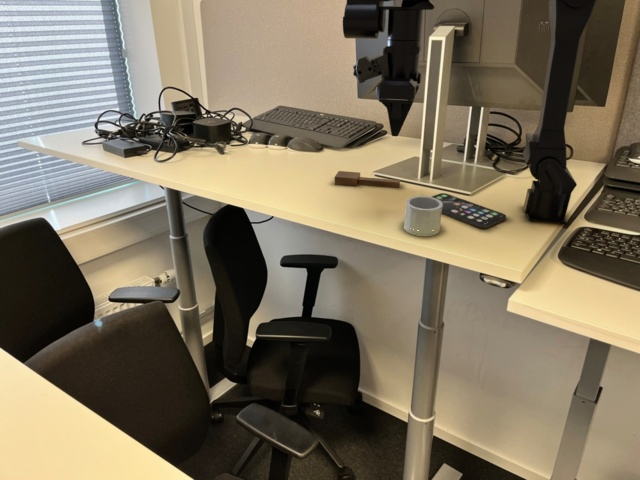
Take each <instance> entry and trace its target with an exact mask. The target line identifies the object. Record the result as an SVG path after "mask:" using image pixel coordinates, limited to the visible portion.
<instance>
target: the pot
mask: <svg viewBox="0 0 640 480" xmlns="http://www.w3.org/2000/svg"><path fill="white" fill-rule="evenodd" d="M442 207H443V203H442V202H441V201H440V200H438V199H436V198H433V197H432V196H426V195H417V196H412V197H411V196H410V197H409V198H407V199H406V201H405V210H404V211H405V212H404V223H403V224H404V225H403V228H404V231H406V232H407V233H408V234H411V235H413V236H417V237H433V236H435V235H438V234H439V233H440V231H441V230H440V229H441V222H442V215H443V213H442ZM410 228H411V229H410ZM413 229H414V230H413ZM417 230H419V231H417ZM432 230H434V231H432Z"/></svg>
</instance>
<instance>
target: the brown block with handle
mask: <svg viewBox="0 0 640 480" xmlns="http://www.w3.org/2000/svg"><path fill="white" fill-rule="evenodd" d="M334 185H337V186H349V187H358V185H361V186H371V187H372V186H373V187H384V188H385V187H386V188H397V189H399V188H400V185H401V180H400V179H391V178H378V177H366V176H361V172H358V171H345V170H338V172H336V174H335V176H334Z"/></svg>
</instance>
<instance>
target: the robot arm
mask: <svg viewBox="0 0 640 480" xmlns="http://www.w3.org/2000/svg"><path fill="white" fill-rule="evenodd" d="M393 1H395V0H346V4H345V7H344V14H343V16H342V33H343V37H344V39H358V40H359V39H361V40H362V39H363V40H365V39H367V40H368V39H369V40H372V39H373V40H377V39H378V38H379V35H380V33H385V30H386V23H387V36H386V45H384V46H385V47H383V48H382V49H383V50H382V54H379V55H375V56H374V57H371V58H369V56H368V55H365V56H364V57H361V58H357V61H356V63H355V64H354V65H353V66H352V69H353V73H352V74H353V76H354V77H355V78H356V82H357V84H358V85H359V84H363V83H365V82H366V81H368V80H371V79H374V78H377V77H381V79H382V80H381V81H380V82H379V83H378V84H377V85H376V92H375V93H376V95H375V98H376V99H377V100H378V102H379V103H381V104H382V105H383V106H384V107H385V108H386V112H387V117H388V122H389V128H390V133H391V135H390V136H391V137H398V136H399V134H400V132H401V130H402V128H403V125H404V123H405V122H406V119H407V118H408V115H409V112H410V111H411V109H412V106H413V104H414V102H415V99H416V95H417V93H418V91H419V88H420V85H421V82H422V70H421V69H420V68H419V65H420V63H419V62H420V53H421V48H422V44H421V42H422V41H421V40H422V30H423V19H424V18H423V17H424V11H433V10H434V9H435V8H436V4H435V3H434V2H433V1H432V0H402V1H401V5H384V2H393ZM596 2H597V0H548V15H549V16H548V18H549V27H550V37H551V38H550V46H549V47H550V48H549V54H548V58H547V59H548V61H547V66H546V67H547V68H546V73H545V79H544V85H543V86H544V87H543V91H542V92H543V93H542V99H541V105H540V112H539V119H538V123H537V127H536V128H535V130H534V132H533V133H530V132H526V133H525V146H524V149H523V151H522V153H521V154H522V156H523V160H524V162H525V165H526V166H528V170H529V172H530V174H531V176H532V177H533V178H534V179H535V180H531V181H532V182H531V185H530V187H529V188H527V189H526V195H525V199H524V204H523V211H524V214H525V215H526V217H527V219H528V221H530V222H536V223H537V222H538V223H547V224H559V225H567V224H568V220H567V218H566V216H567V211H568V208H569V204H570V201H571V197H572V192H574V190H575V188H576V187H577V181H576V180H575V178H574V177H573V175H572V173H571V171H570V170H569V168H568V167H567V166H568V165H567V142H566V132H565V126H566V121H567V115H568V110H569V104H570V98H571V92H572V87H573V82H574V81H573V80H574V75H575V69H576V64H577V59H578V53H579V48H580V42H581V39H582V36H583V34H584V32H585V30H586V27H587V25H588V23H589V22H590V20H591V17H592V14H593V11H594V9H595V6H596ZM387 11H388V15H387ZM387 17H388V18H387ZM386 20H387V21H386Z"/></svg>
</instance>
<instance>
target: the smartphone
mask: <svg viewBox="0 0 640 480" xmlns="http://www.w3.org/2000/svg"><path fill="white" fill-rule="evenodd" d="M431 197H433V198H436V199H438V200H440V201H441V202H442V203H443V207H442V214H445V215H447V216H450V217H452V218H455V219H457V220H460V221H462V222H465V223H468V224H471V225H473V226H476V227H478V228H479V229H488V228H490V227H492V226H494V225H496V224H499V223H501V222H503V221H504V220H506V219H507V215H506V214H505V213H503V212H500V211H497V210H494V209H491V208H489V207H486V206H484V205H480V204H478V203H474V202H471V201H469V200H466V199H463V198H460V197H457V196H455V195H451V194H449V193H445V192H442V193H438V194H435V195H432V196H431Z"/></svg>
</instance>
